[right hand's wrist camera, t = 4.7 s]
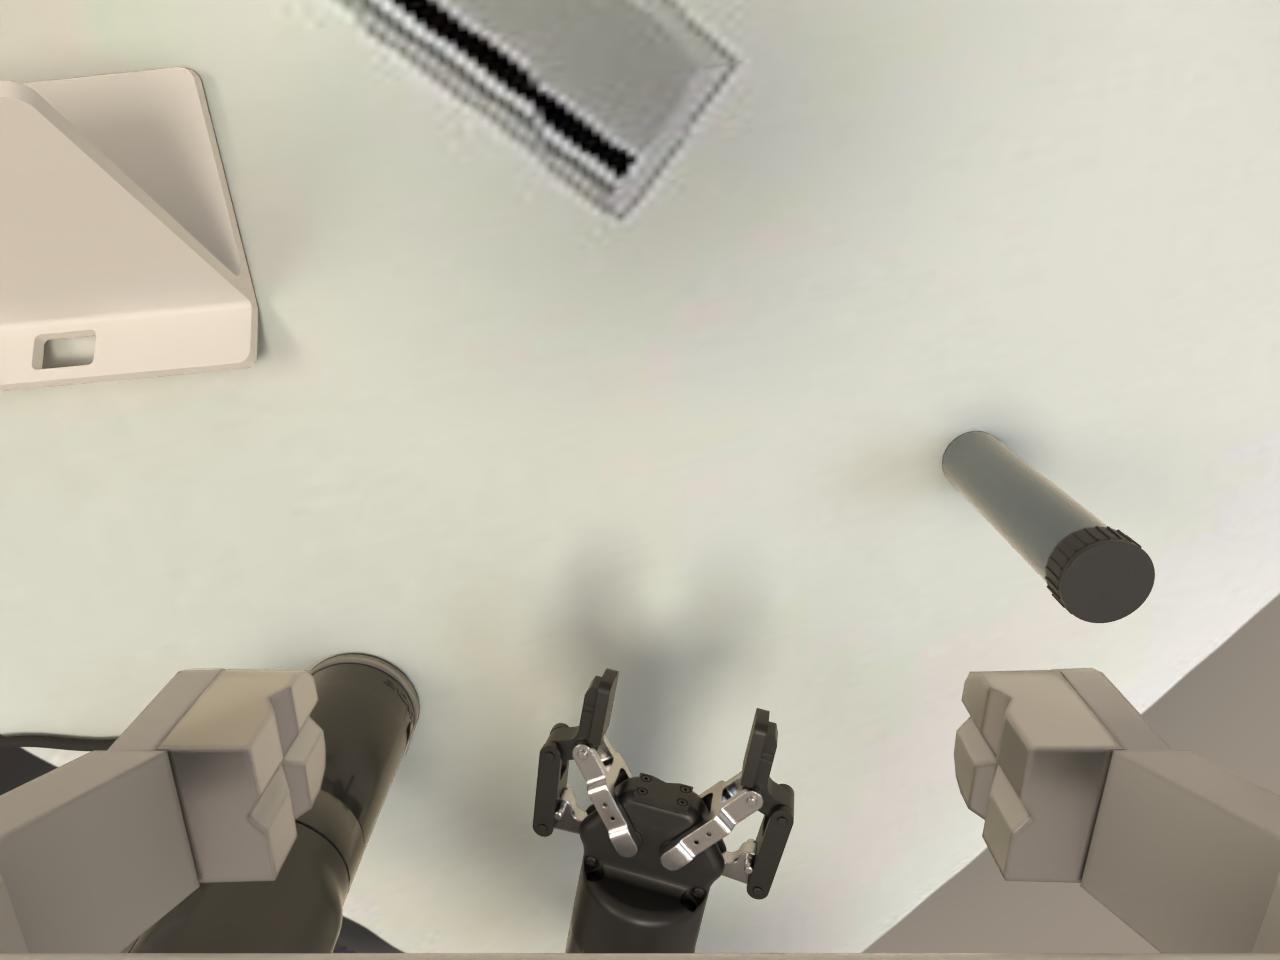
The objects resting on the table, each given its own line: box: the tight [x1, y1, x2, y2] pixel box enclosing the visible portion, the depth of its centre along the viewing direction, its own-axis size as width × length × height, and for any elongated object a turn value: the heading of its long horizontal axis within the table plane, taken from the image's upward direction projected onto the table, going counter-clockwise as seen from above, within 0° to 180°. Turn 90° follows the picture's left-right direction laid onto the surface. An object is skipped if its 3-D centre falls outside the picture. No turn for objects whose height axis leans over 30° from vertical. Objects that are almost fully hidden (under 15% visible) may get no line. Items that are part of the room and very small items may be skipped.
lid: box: [1045, 526, 1155, 623], centre depth 44 cm, size 5×5×2 cm
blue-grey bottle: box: [942, 431, 1107, 583], centre depth 52 cm, size 4×4×18 cm
